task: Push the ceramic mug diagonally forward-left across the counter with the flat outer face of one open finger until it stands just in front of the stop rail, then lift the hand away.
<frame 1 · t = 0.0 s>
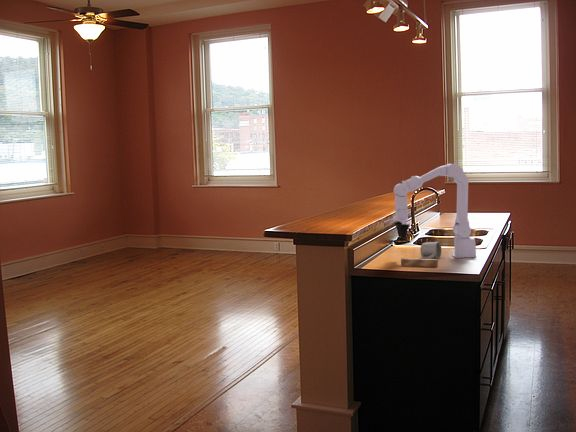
hand: (402, 238, 305), 10 cm above the worktop, tool pointing down, fingers open, 7 cm apart
ceramic mug: (430, 258, 306), on the worktop
rail: (419, 265, 287), on the worktop
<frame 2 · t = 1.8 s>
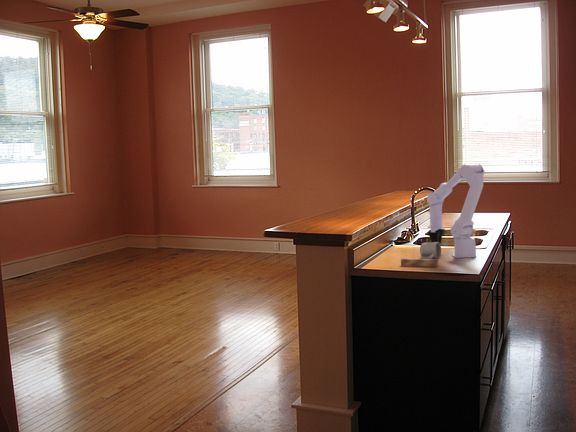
hand: (436, 245, 317), 4 cm above the worktop, tool pointing down, fingers open, 7 cm apart
nothing on the worktop moved.
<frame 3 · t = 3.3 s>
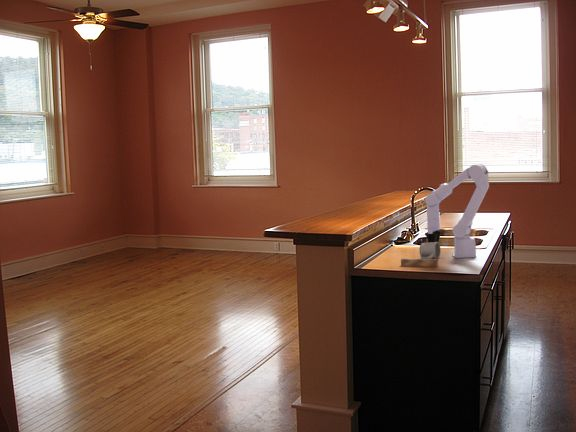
hand: (434, 246, 312), 4 cm above the worktop, tool pointing down, fingers open, 6 cm apart
ceramic mug: (429, 259, 305), on the worktop, touching gripper
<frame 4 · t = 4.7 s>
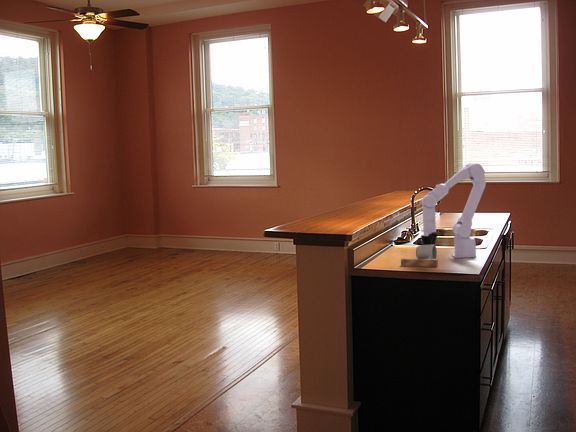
hand: (430, 249, 305), 4 cm above the worktop, tool pointing down, fingers open, 7 cm apart
ceramic mug: (426, 261, 297), on the worktop, touching gripper
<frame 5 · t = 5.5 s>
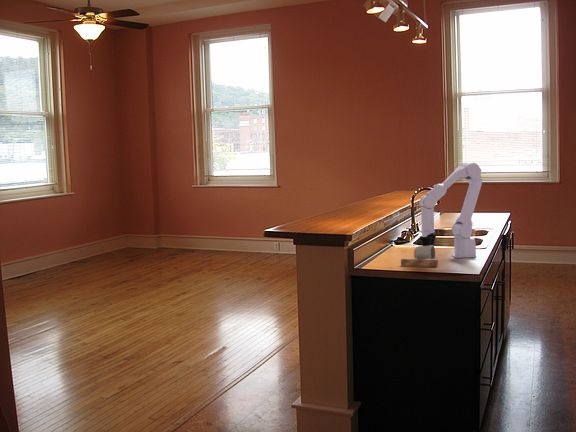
hand: (428, 250, 302), 4 cm above the worktop, tool pointing down, fingers open, 7 cm apart
ceramic mug: (424, 263, 294), on the worktop, touching gripper
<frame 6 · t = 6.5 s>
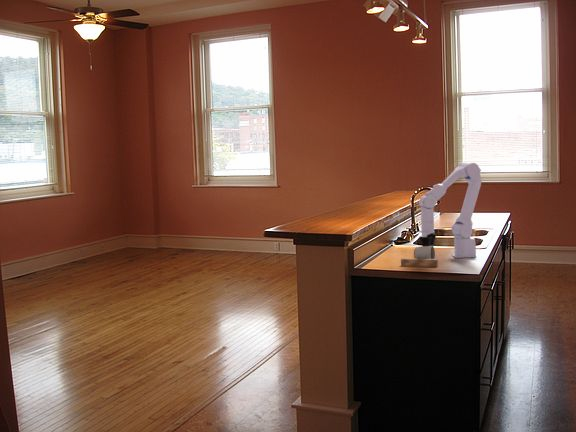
hand: (428, 250, 302), 4 cm above the worktop, tool pointing down, fingers open, 7 cm apart
ceramic mug: (424, 263, 294), on the worktop
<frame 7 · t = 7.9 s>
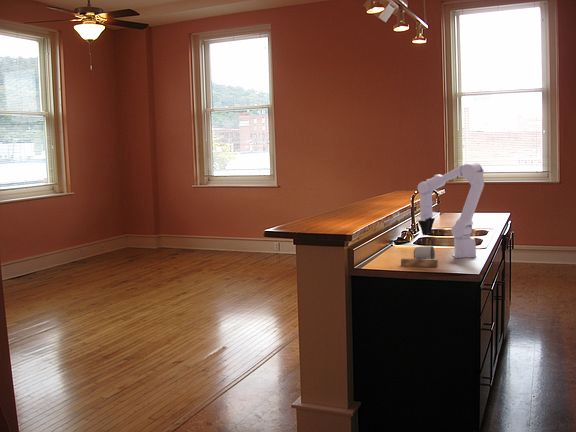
hand: (426, 234, 317), 10 cm above the worktop, tool pointing down, fingers open, 7 cm apart
nothing on the worktop moved.
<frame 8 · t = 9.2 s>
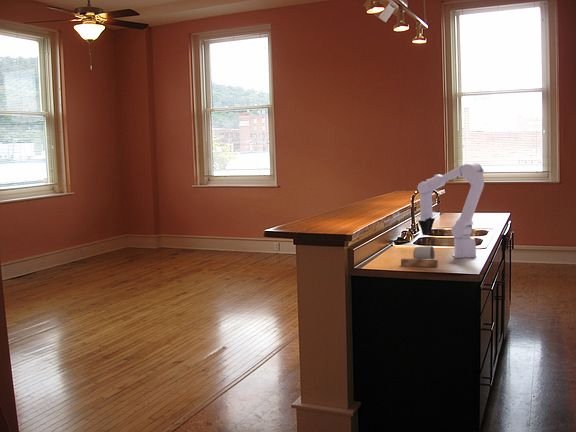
hand: (426, 234, 317), 10 cm above the worktop, tool pointing down, fingers open, 7 cm apart
nothing on the worktop moved.
at the end: ceramic mug inside the target area (1.9 cm from its centre), on the worktop; ceramic mug tilted 0°; ceramic mug moved 14.0 cm from its start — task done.
